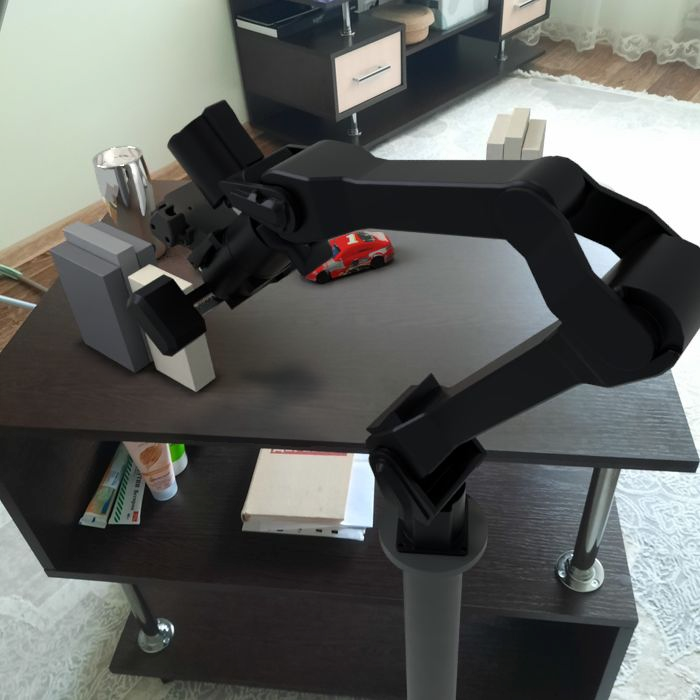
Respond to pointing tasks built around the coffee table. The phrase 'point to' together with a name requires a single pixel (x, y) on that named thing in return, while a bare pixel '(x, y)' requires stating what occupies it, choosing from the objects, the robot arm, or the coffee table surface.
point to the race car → (354, 255)
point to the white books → (516, 137)
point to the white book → (189, 362)
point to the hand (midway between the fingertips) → (196, 307)
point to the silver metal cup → (127, 192)
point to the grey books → (104, 288)
